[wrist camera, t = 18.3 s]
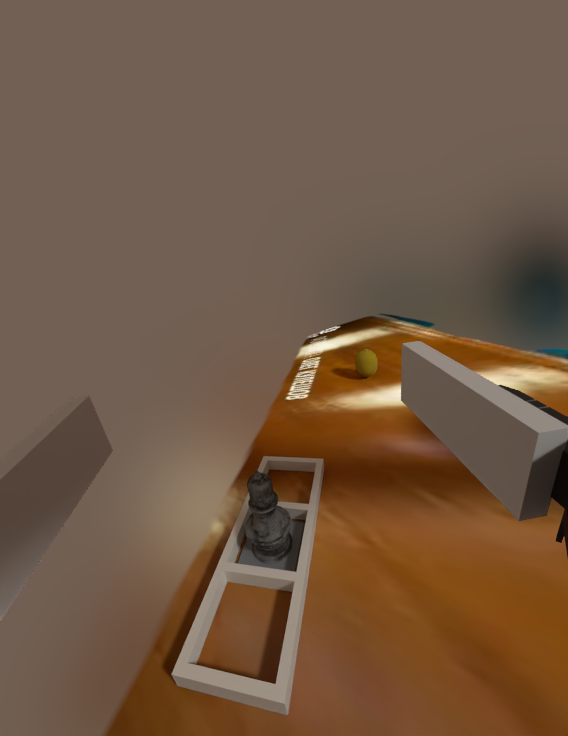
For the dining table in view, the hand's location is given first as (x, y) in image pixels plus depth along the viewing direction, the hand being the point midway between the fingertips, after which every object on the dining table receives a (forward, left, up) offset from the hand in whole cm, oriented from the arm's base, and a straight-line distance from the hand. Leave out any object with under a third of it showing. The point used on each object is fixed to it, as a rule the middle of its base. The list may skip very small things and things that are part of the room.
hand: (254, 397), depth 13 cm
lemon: (-56, -30, -30) cm, 70 cm away
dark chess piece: (-8, -14, -30) cm, 34 cm away
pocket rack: (-8, -14, -30) cm, 34 cm away
